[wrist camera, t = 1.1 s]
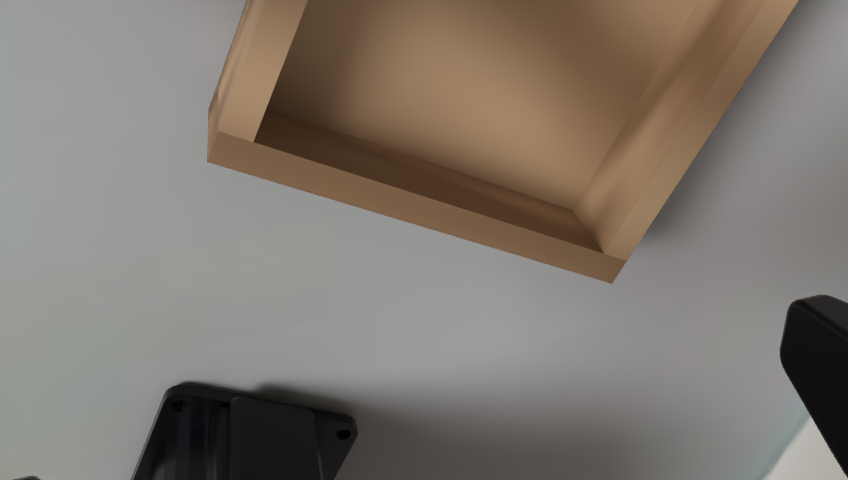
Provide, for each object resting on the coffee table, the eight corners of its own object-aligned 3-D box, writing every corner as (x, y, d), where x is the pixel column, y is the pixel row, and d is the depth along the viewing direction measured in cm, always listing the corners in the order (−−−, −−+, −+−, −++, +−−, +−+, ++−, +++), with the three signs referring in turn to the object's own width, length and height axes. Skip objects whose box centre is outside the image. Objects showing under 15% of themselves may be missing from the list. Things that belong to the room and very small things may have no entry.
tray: (573, 228, 25) (611, 283, 22) (208, 109, 20) (207, 161, 18) (800, -142, 20) (881, -126, 18) (390, -408, 15) (423, -436, 13)
